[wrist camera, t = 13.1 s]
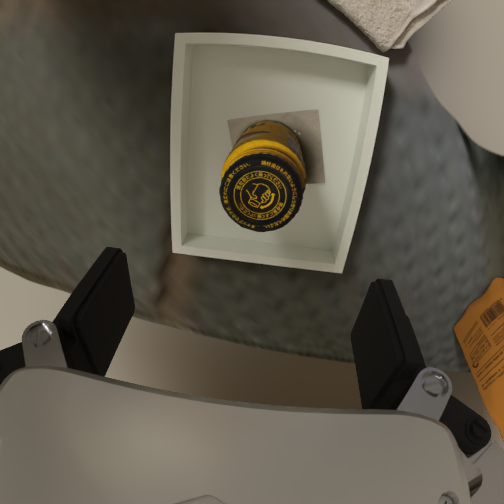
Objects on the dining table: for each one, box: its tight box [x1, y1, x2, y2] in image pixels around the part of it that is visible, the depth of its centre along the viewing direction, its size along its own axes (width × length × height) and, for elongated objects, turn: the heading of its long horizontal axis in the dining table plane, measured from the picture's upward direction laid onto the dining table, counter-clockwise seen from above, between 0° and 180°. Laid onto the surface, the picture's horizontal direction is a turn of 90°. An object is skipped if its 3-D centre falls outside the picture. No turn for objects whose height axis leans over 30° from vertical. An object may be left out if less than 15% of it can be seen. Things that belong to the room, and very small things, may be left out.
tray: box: [170, 33, 389, 273], centre depth 29 cm, size 22×18×4 cm
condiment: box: [219, 110, 325, 232], centre depth 25 cm, size 7×8×12 cm
